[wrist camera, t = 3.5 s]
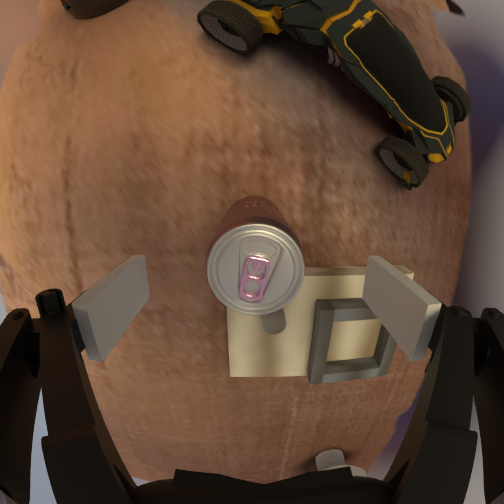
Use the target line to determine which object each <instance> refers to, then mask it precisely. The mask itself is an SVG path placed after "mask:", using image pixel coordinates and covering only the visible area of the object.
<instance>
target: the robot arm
mask: <svg viewBox="0 0 504 504" xmlns="http://www.w3.org/2000/svg"><path fill="white" fill-rule="evenodd" d="M126 1H128V0H61V3H62V4H63V7H64V9H65V10H66V11H67V12H68V13H70V14H71V15H73V16H74V17H76V18H81V19H85V18H92V17H95V16H99V15H101V14H104V13H106V12H108V11H111V10H113V9H114V8H116V7H118V6H120V5H121V4H123V3H125V2H126ZM35 299H36V303H37V306H38V310H39V313H40V318H34V319H31V315H30V312H29V310H28V309H26V308H20V309H19V308H17V309H14V310H12V312H10V313H9V314H8V315H7V316H6V318H5V319H4V321H3V322H2V324H1V325H0V504H29V501H30V469H31V452H32V441H33V431H34V424H35V417H36V411H37V404H38V400H39V394H40V390H41V386H42V396H43V405H44V412H45V419H46V425H47V431H48V436H44V437H42V439H41V445H42V451H43V455H44V460H45V464H46V468H47V472H48V476H49V480H50V483H51V487H52V490H53V493H54V496H55V499H56V502H57V504H463V502H464V499H465V496H466V492H467V489H468V485H469V481H470V477H471V473H472V468H473V463H474V458H475V452H476V446H477V440H478V439H477V437H478V436H477V432H476V431H471V430H469V428H470V421H471V412H472V402H473V396H474V401H475V406H476V411H477V417H478V422H479V430H480V437H481V445H482V456H483V472H484V473H483V474H484V495H485V502H486V504H504V314H503V313H502V312H500V311H499V310H498V309H496V308H485V309H483V311H482V314H481V317H480V318H472V315H471V313H470V312H469V311H468V310H466V309H464V308H463V307H459V306H450V307H447V306H446V305H445V304H443V303H442V302H441V301H440V300H438V299H437V298H436V297H435V296H432V294H431V293H430V292H428V291H427V290H425V289H423V288H422V287H421V286H419V285H418V284H417V283H415V282H414V281H413V280H412V279H410V278H409V277H408V276H406V275H405V274H404V273H402V272H401V271H400V270H398V269H397V268H395V267H394V266H393V265H391V264H390V263H389V262H387V261H386V260H384V259H383V258H382V257H380V256H368V259H367V267H366V275H365V282H364V288H363V294H362V299H363V300H364V301H365V303H366V304H367V305H368V306H369V308H370V309H371V310H372V311H373V313H374V314H375V315H376V316H377V318H378V319H379V320H380V322H381V323H382V324H383V325H384V327H385V328H386V329H387V331H388V332H389V333H390V334H391V336H392V337H393V338H394V340H395V341H396V342H397V344H398V345H399V346H400V348H401V349H402V350H403V352H404V353H405V354H406V356H407V357H408V359H409V360H410V361H415V360H420V359H424V357H425V354H426V352H427V349H428V347H429V348H430V349H431V351H432V354H431V357H430V359H429V362H428V364H427V367H426V369H425V372H424V373H426V375H425V379H424V382H423V386H422V389H421V392H420V396H419V398H418V402H417V404H416V407H415V410H414V413H413V416H412V419H411V421H410V424H409V427H408V429H407V431H406V434H405V437H404V439H403V441H402V443H401V446H400V448H399V450H398V452H397V455H396V457H395V459H394V461H393V463H392V465H391V467H390V469H389V471H388V473H387V475H386V476H385V478H384V479H383V481H381V480H378V479H375V478H369V477H363V476H353V475H352V471H351V468H350V466H347V467H342V468H336V469H329V470H323V471H315V472H308V473H305V474H302V475H298V476H295V477H292V478H288V479H284V480H280V481H277V482H272V483H268V484H259V483H254V482H249V481H245V480H240V479H236V478H232V477H228V476H224V475H221V474H214V473H203V472H194V471H186V470H179V469H176V470H175V475H174V479H165V480H158V481H153V482H149V483H146V484H143V485H140V486H138V487H137V485H136V484H135V482H134V481H133V479H132V478H131V476H130V474H129V472H128V471H127V469H126V467H125V465H124V463H123V461H122V459H121V457H120V455H119V453H118V451H117V449H116V447H115V445H114V443H113V441H112V438H111V436H110V434H109V432H108V429H107V427H106V425H105V422H104V420H103V417H102V415H101V412H100V410H99V407H98V404H97V401H96V399H95V396H94V393H93V390H92V387H91V384H90V381H89V378H88V375H87V371H86V368H85V364H84V361H83V358H82V355H81V352H82V351H83V350H84V348H85V350H86V353H87V355H88V358H89V359H91V360H96V361H101V362H103V361H104V359H105V358H106V356H107V355H108V354H109V352H110V351H111V349H112V348H113V347H114V345H115V344H116V343H117V341H118V340H119V338H120V337H121V336H122V334H123V333H124V332H125V330H126V329H127V328H128V326H129V325H130V324H131V322H132V321H133V320H134V318H135V317H136V316H137V314H138V313H139V312H140V310H141V309H142V308H143V307H144V305H145V304H146V303H147V301H148V300H149V299H150V292H149V285H148V278H147V270H146V262H145V255H133V256H131V257H130V258H129V259H127V260H126V261H124V262H123V263H122V264H120V265H119V266H118V267H116V268H115V269H114V270H112V271H111V272H110V273H109V274H107V275H106V276H105V277H103V278H102V279H101V280H99V281H98V282H97V283H96V284H94V285H93V286H92V287H91V288H89V289H88V290H86V291H84V292H83V293H82V294H81V295H80V296H78V297H77V298H76V300H73V301H72V302H71V303H70V304H68V305H67V306H66V305H65V301H64V297H63V293H62V291H61V290H60V289H48V290H45V291H42V292H40V293H39V294H37V295H36V297H35Z"/></svg>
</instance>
